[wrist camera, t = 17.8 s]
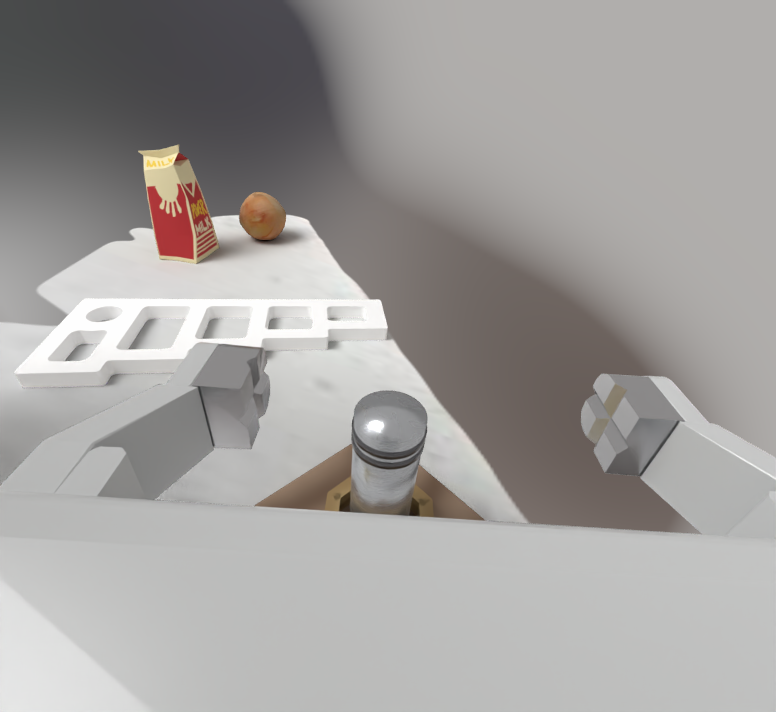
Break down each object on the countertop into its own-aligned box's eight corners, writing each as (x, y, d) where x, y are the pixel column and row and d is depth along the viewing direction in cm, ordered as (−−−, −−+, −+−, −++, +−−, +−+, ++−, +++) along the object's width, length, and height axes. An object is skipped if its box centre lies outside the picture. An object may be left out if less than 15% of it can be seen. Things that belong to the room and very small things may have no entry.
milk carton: (219, 247, 85) (201, 142, 74) (198, 264, 78) (174, 150, 66) (177, 242, 86) (153, 136, 74) (152, 258, 78) (121, 144, 67)
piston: (335, 535, 35) (336, 420, 26) (369, 493, 38) (379, 380, 30) (386, 570, 33) (404, 457, 24) (417, 522, 36) (441, 409, 28)
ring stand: (244, 519, 36) (240, 499, 35) (375, 434, 46) (376, 415, 44) (380, 708, 26) (383, 693, 25) (510, 550, 36) (519, 531, 34)
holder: (379, 313, 69) (380, 299, 68) (395, 380, 55) (397, 364, 53) (90, 314, 62) (84, 298, 60) (22, 391, 48) (12, 373, 46)
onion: (294, 243, 90) (291, 197, 85) (249, 249, 86) (243, 200, 80) (279, 229, 97) (275, 185, 91) (237, 234, 92) (230, 188, 86)
